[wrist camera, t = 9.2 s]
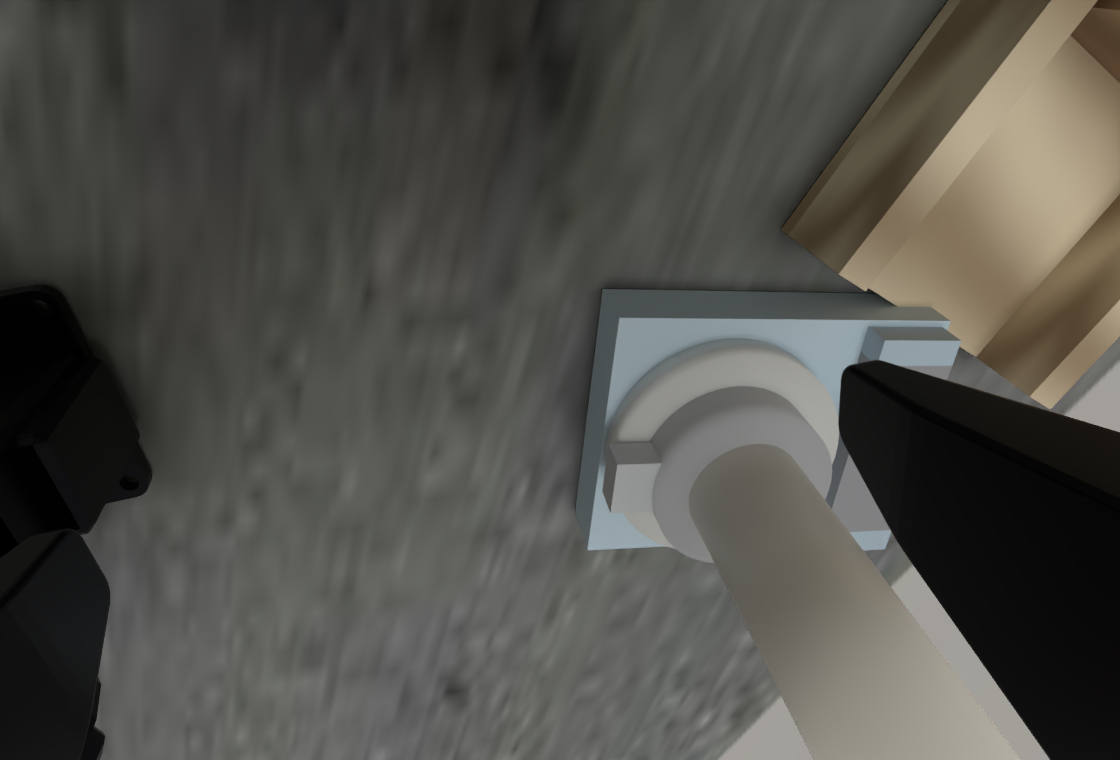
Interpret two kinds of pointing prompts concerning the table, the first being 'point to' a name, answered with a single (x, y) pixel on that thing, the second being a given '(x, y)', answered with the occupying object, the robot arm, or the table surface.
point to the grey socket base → (741, 380)
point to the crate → (1102, 35)
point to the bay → (987, 191)
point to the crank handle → (800, 580)
